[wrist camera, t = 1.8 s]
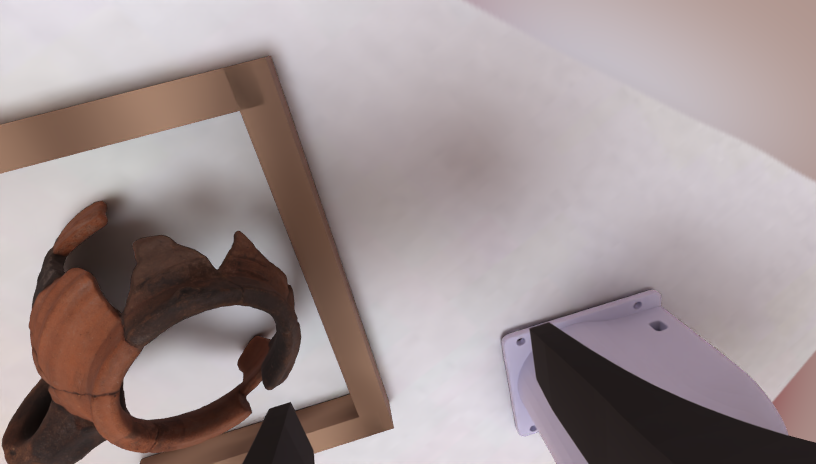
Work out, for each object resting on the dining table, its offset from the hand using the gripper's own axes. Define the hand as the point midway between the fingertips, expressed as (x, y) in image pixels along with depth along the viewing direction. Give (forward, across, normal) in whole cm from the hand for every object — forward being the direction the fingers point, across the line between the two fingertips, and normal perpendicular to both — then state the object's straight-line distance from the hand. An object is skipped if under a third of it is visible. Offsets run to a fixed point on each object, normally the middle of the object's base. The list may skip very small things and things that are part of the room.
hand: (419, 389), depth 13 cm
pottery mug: (+10, +10, -1) cm, 14 cm away
